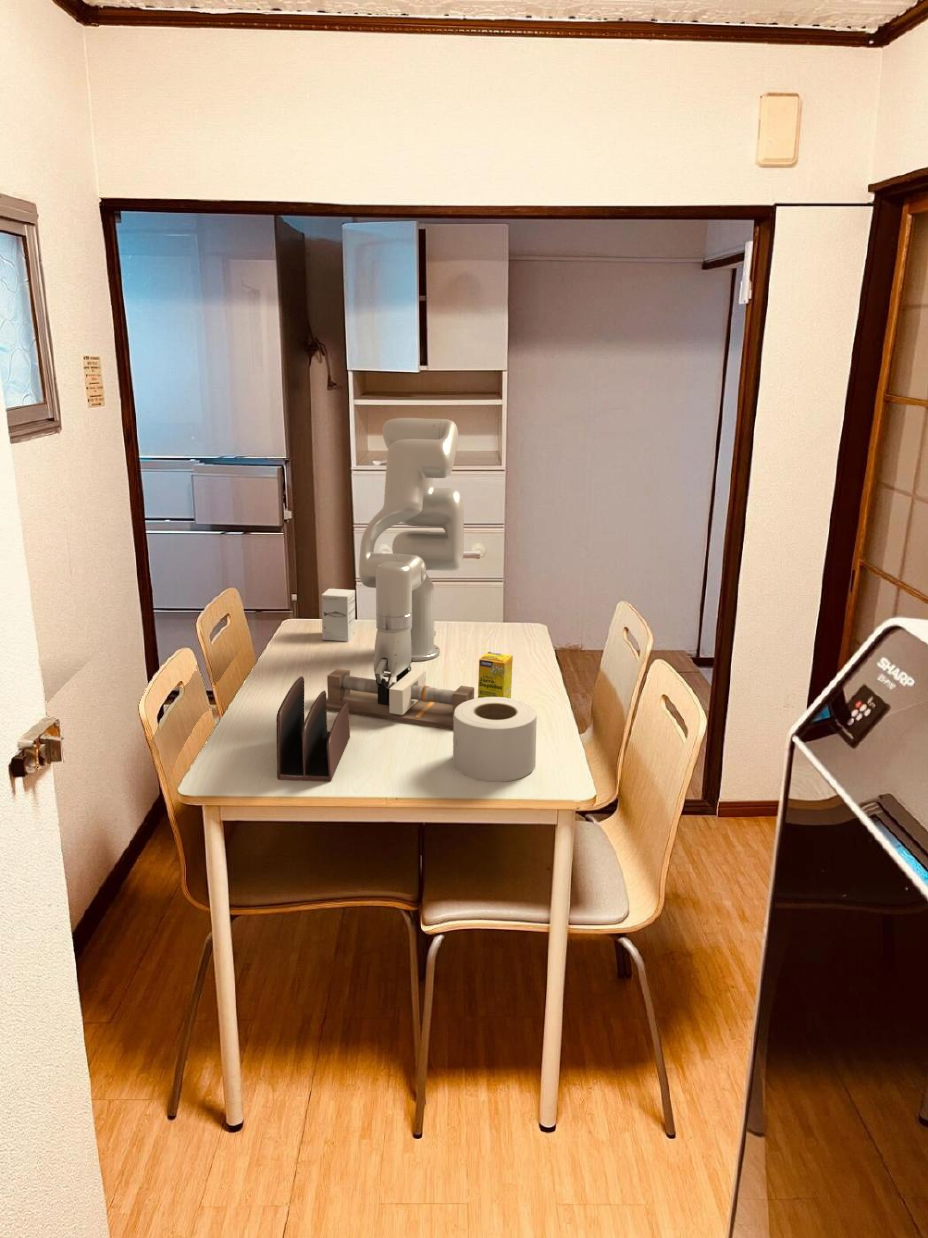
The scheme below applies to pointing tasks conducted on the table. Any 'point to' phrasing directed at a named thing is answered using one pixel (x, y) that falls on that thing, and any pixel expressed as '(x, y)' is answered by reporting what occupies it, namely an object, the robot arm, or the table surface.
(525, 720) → the white paper roll
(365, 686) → the pipe stand
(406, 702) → the collar
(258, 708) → the table surface
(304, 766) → the letter holder
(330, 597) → the supplement box
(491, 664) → the supplement box
